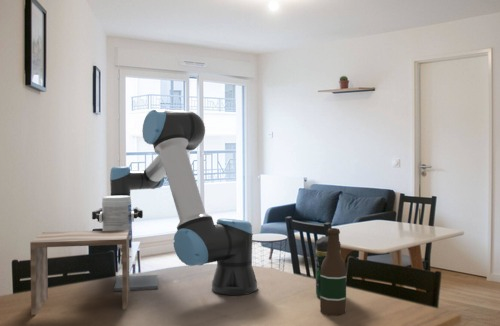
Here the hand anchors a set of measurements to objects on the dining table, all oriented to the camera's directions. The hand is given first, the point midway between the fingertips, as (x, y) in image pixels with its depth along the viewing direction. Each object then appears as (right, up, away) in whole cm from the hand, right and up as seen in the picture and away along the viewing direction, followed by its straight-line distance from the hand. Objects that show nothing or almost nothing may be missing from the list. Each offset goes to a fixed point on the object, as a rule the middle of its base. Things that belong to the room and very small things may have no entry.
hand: (116, 218), depth 161 cm
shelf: (-6, -24, -14) cm, 28 cm away
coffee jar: (+69, -24, -5) cm, 73 cm away
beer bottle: (+68, -25, -21) cm, 75 cm away
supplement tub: (-1, -8, +5) cm, 9 cm away
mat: (+5, -23, +7) cm, 25 cm away
